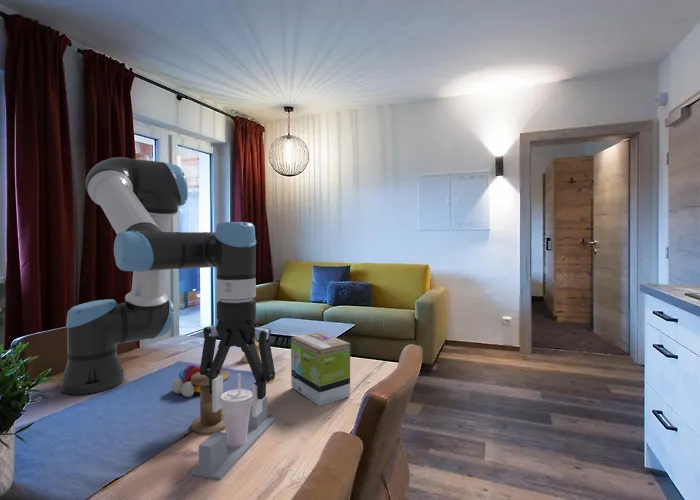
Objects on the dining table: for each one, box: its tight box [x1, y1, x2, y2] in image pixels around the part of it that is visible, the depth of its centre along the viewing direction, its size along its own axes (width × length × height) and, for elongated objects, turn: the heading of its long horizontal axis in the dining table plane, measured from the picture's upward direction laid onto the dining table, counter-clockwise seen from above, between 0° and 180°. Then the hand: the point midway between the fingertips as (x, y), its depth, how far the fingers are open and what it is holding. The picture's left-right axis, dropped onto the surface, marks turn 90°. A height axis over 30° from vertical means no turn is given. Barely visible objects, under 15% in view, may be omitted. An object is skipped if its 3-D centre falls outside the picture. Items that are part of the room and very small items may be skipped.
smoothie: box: [220, 372, 252, 447], centre depth 78 cm, size 6×6×14 cm
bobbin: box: [191, 368, 230, 435], centre depth 87 cm, size 8×8×11 cm
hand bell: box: [240, 318, 261, 364], centre depth 133 cm, size 8×8×16 cm
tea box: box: [290, 331, 351, 407], centre depth 105 cm, size 15×10×15 cm, turn 37°
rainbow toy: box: [171, 363, 200, 398], centre depth 106 cm, size 8×10×7 cm
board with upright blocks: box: [189, 395, 275, 480], centre depth 78 cm, size 6×22×6 cm, turn 166°
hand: (237, 411), depth 78 cm, fingers open, 8 cm apart
